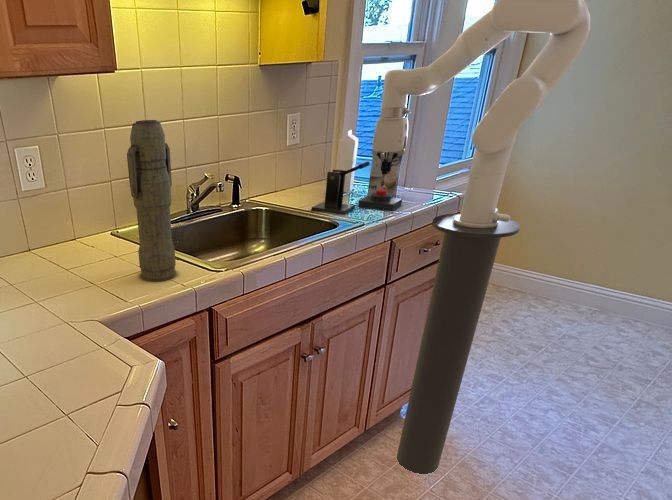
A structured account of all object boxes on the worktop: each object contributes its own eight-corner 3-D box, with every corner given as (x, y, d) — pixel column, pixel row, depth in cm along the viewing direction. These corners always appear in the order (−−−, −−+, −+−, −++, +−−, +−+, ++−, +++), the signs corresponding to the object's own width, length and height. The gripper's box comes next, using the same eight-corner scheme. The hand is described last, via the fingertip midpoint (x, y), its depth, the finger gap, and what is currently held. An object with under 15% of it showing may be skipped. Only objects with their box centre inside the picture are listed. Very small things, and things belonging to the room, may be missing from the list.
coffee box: (380, 199, 185) (386, 152, 176) (366, 196, 189) (372, 150, 181) (396, 195, 189) (404, 149, 180) (383, 192, 193) (389, 147, 185)
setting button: (388, 195, 174) (388, 189, 173) (384, 197, 171) (385, 191, 171) (377, 194, 176) (378, 188, 175) (374, 196, 173) (374, 190, 173)
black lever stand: (354, 208, 174) (359, 170, 167) (344, 214, 168) (348, 174, 161) (322, 205, 180) (325, 167, 174) (311, 210, 174) (314, 171, 168)
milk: (352, 189, 200) (360, 129, 189) (349, 192, 195) (356, 131, 184) (337, 188, 203) (343, 129, 192) (333, 191, 198) (340, 131, 187)
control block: (401, 205, 175) (403, 193, 173) (392, 210, 169) (394, 198, 167) (367, 201, 182) (369, 190, 180) (358, 207, 176) (359, 195, 174)
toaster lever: (370, 166, 163) (368, 159, 163) (363, 169, 159) (361, 162, 159) (337, 180, 172) (335, 173, 171) (329, 183, 168) (327, 176, 167)
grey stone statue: (186, 270, 127) (179, 118, 110) (158, 286, 119) (145, 124, 101) (159, 265, 132) (147, 118, 114) (129, 279, 123) (112, 123, 106)
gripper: (420, 112, 159) (411, 172, 168) (374, 113, 167) (368, 170, 176) (413, 114, 154) (404, 176, 163) (365, 115, 162) (359, 174, 171)
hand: (385, 173), depth 170 cm, fingers closed
